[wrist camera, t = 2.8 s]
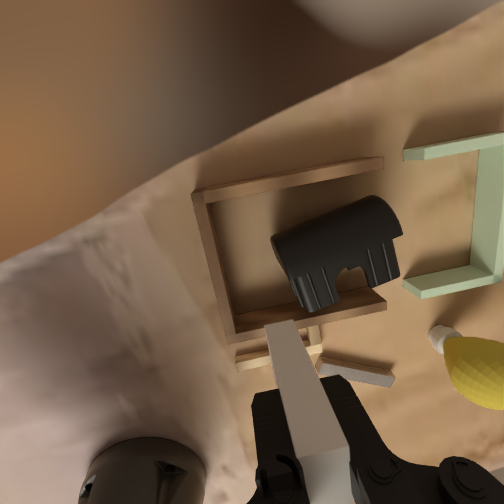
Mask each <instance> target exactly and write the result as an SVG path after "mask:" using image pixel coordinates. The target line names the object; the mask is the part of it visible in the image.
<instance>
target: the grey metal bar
mask: <svg viewBox="0 0 504 504" xmlns="http://www.w3.org/2000/svg"><path fill="white" fill-rule="evenodd" d="M315 368H316V370H317V372H318V374H321V375H326V376H333V375H338V374H339V375H341V376H342V377H343V378H344V379H347V380H352V381H358V382H363V383H368V384H373V385H379V386H384V387H389V388H391V386H392V384H393V382H394V380H395V378H396V377H395V376H394V375H393V373H392V372H391V371H390V370H386V369H381V368H376V367H372V366H367V365H362V364H357V363H352V362H347V361H342V360H337V359H332V358H327V357H322V356H319V358H318V361H317V363H316V365H315Z"/></svg>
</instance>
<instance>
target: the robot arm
mask: <svg viewBox="0 0 504 504" xmlns="http://www.w3.org/2000/svg"><path fill="white" fill-rule="evenodd" d="M264 328H265V333H266V338H267V343H268V349H269V354H270V359H271V364H272V369H273V373H274V378H275V382H276V386H277V389H274V390H269V391H265V392H260V393H256V394H255V395H254V399H253V402H252V405H251V407H252V416H253V425H254V433H255V442H256V451H257V459H258V467H257V469H256V477H255V481H256V485H257V489H256V491H255V494H254V495H253V497H252V498H251V499H250V501H249V502H248V503H247V504H354V501H355V503H356V504H504V485H503V484H501V483H500V482H499V481H498V480H497V479H496V478H495V477H494V476H492V475H491V474H490V473H489V472H488V471H487V470H486V469H484V468H483V467H481V466H480V465H479V464H477V463H476V462H474V461H471V460H469V459H466V458H464V457H456V456H452V457H448V458H445V459H444V460H443V461H442V462H441V463H440V465H439V467H435V466H427V465H419V464H414V463H409V462H407V461H405V460H402V459H400V458H399V457H397V456H396V455H394V454H393V453H392V452H391V451H390V450H389V449H388V448H387V446H386V445H385V444H384V442H383V441H382V439H381V437H380V435H379V434H378V432H377V430H376V428H375V427H374V425H373V423H372V421H371V420H370V418H369V416H368V414H367V413H366V411H365V409H364V407H363V406H362V404H361V402H360V400H359V399H358V397H357V396H356V393H355V392H354V390H353V388H352V386H351V385H350V383H349V382H348V381H347V380H346V379H344V378H343V377H342V376H341V375H339V374H338V375H333V376H329V377H324V378H320V379H319V377H318V375H317V373H316V370H315V368H314V366H313V364H312V361H311V359H310V357H309V354H308V352H307V350H306V348H305V345H304V343H303V341H302V339H301V336H300V334H299V332H298V330H297V327H296V325H295V323H294V321H293V319H292V320H287V321H282V322H278V323H273V324H268V325H264ZM205 477H206V476H205V469H204V466H203V464H202V462H201V460H200V459H199V458H198V456H197V455H196V454H195V453H194V452H192V451H191V450H190V449H188V448H187V447H185V446H183V445H181V444H179V443H176V442H173V441H169V440H165V439H158V438H140V439H133V440H128V441H125V442H122V443H119V444H116V445H114V446H112V447H110V448H108V449H107V450H105V451H104V452H102V453H101V454H100V455H99V456H98V457H97V458H96V459H95V460H94V461H93V463H92V464H91V466H90V468H89V470H88V473H87V475H86V477H85V480H84V482H83V484H82V487H81V490H80V494H79V501H78V504H203V500H204V495H205Z"/></svg>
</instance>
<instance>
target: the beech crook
mask: <svg viewBox="0 0 504 504" xmlns="http://www.w3.org/2000/svg"><path fill="white" fill-rule="evenodd" d="M306 329H307V336H308V340H305V341H303V343H304V345H305V348H306V350H307V352H308V354H309V355H313V354H317V353H321V352H322V346H321V338H320V330H319V325H315V326H311V327H306ZM235 363H236V367H237V371H238V372H239V371H243V370H247V369H252V368H256V367H261V366H265V365H269V364H271V359H270V354H269V349H266V350H262V351H257V352H253V353H249V354H244V355H240V356H236V357H235Z"/></svg>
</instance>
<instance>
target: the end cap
mask: <svg viewBox="0 0 504 504" xmlns="http://www.w3.org/2000/svg"><path fill="white" fill-rule="evenodd" d="M401 235H403V232H402V228H401V225H400V223H399V220H398V219H397V217H396V215H395V213H394V212H393V210H392V208H391V207H390V206H389V205H388V204H387V203H386V202H385V201H384V200H383V199H381V198H380V197H378V196H375V195H370V196H367V197H365V198H362V199H360V200H357V201H355V202H352V203H350V204H348V205H345V206H343V207H340V208H338V209H336V210H333V211H331V212H328V213H326V214H323V215H321V216H319V217H316V218H314V219H311V220H309V221H307V222H304V223H302V224H299V225H297V226H294V227H292V228H290V229H287V230H285V231H282V232H280V233H277V234H275V235H273V236H271V238H270V241H271V244H272V247H273V250H274V253H275V256H276V258H277V260H278V261H279V263H280V265H281V267H282V268H283V270H284V272H285V274H286V275H287V277H288V279H289V282H290V285H291V287H292V290H293V292H294V295H296V296H297V298H298V300H299V303H300V306H301V307H304V308H305V310H306V311H307V312H315V311H317V310H320V309H322V308H325V307H327V306H330V305H332V304H334V303H337V302H339V301H340V299H339V296H338V293H337V290H336V286H335V280H336V277H337V275H338V274H339V272H340V271H341V270H343V269H344V268H346V267H347V269H348V270H351V269H353V268H356V267H358V266H360V267H361V268H362V269H363V270H364V273H365V276H366V280H367V283H368V287H370V288H374V287H376V286H379V285H381V284H384V283H386V282H389V281H391V280H394V279H396V278H398V277H399V276H400V271H399V266H398V262H397V258H396V253H395V249H394V245H393V240H392V239H394V238H396V237H399V236H401Z"/></svg>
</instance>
